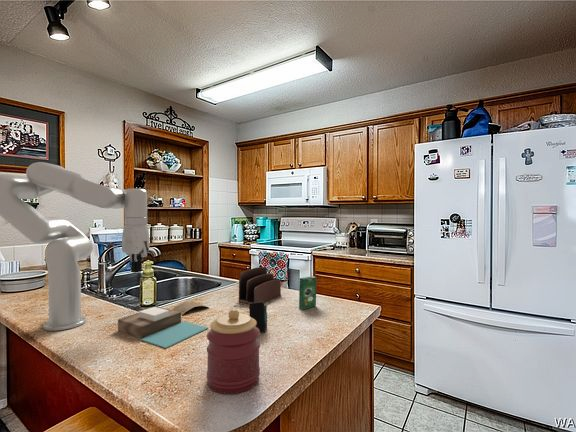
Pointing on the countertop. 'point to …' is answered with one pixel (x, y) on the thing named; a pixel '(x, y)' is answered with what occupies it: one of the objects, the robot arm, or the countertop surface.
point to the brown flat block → (147, 324)
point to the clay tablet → (186, 306)
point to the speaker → (259, 315)
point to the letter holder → (258, 286)
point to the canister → (233, 353)
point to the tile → (154, 314)
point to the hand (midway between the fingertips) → (136, 271)
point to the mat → (174, 334)
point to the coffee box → (307, 292)
